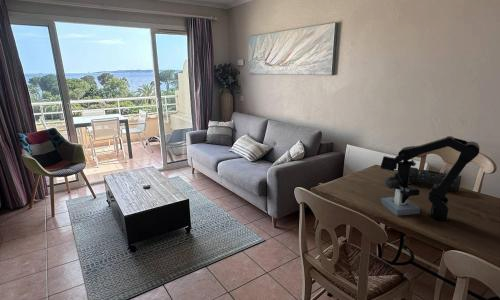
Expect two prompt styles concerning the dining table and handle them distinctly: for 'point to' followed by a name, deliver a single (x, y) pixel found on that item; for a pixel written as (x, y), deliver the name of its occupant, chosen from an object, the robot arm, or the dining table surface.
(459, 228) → the dining table surface
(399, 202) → the block
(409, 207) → the socket plate
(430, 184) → the muzzle brake
